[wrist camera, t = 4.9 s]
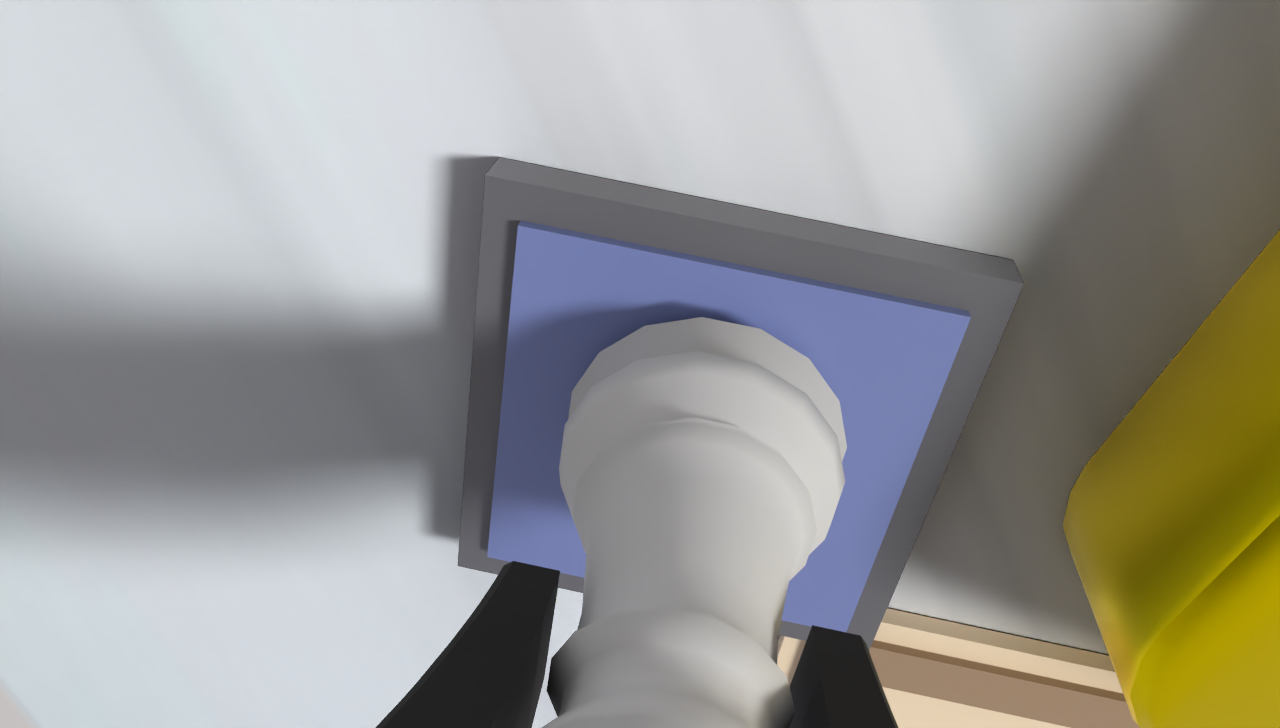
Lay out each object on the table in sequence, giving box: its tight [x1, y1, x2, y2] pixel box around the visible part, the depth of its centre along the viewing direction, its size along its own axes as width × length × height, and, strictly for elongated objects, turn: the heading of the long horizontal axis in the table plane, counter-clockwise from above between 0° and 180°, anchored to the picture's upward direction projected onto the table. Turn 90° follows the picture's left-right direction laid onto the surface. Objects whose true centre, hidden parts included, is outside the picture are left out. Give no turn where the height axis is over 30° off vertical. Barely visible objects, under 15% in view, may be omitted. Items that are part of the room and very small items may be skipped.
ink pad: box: [458, 157, 1024, 650], centre depth 16 cm, size 8×8×1 cm
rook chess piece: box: [542, 317, 847, 728], centre depth 12 cm, size 4×4×8 cm
